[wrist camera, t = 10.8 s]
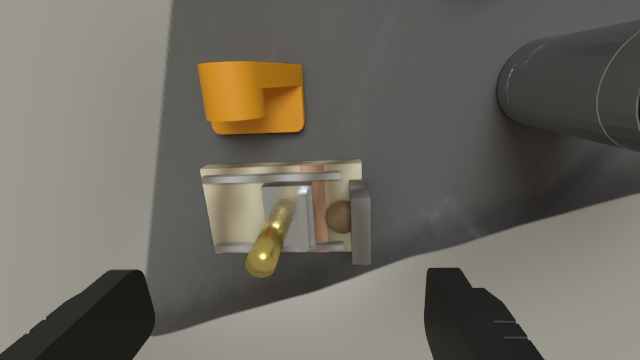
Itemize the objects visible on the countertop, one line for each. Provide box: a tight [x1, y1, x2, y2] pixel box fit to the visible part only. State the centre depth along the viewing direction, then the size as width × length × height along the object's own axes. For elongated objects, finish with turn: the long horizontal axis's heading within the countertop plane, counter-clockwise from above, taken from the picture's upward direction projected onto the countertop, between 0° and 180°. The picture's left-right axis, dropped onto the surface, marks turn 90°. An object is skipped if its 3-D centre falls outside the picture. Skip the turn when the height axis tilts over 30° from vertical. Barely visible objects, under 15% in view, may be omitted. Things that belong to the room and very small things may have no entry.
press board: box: [200, 159, 371, 265], centre depth 37 cm, size 20×12×8 cm, turn 93°
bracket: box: [198, 61, 306, 134], centre depth 31 cm, size 11×7×12 cm, turn 93°
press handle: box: [245, 182, 316, 278], centre depth 33 cm, size 6×8×12 cm
